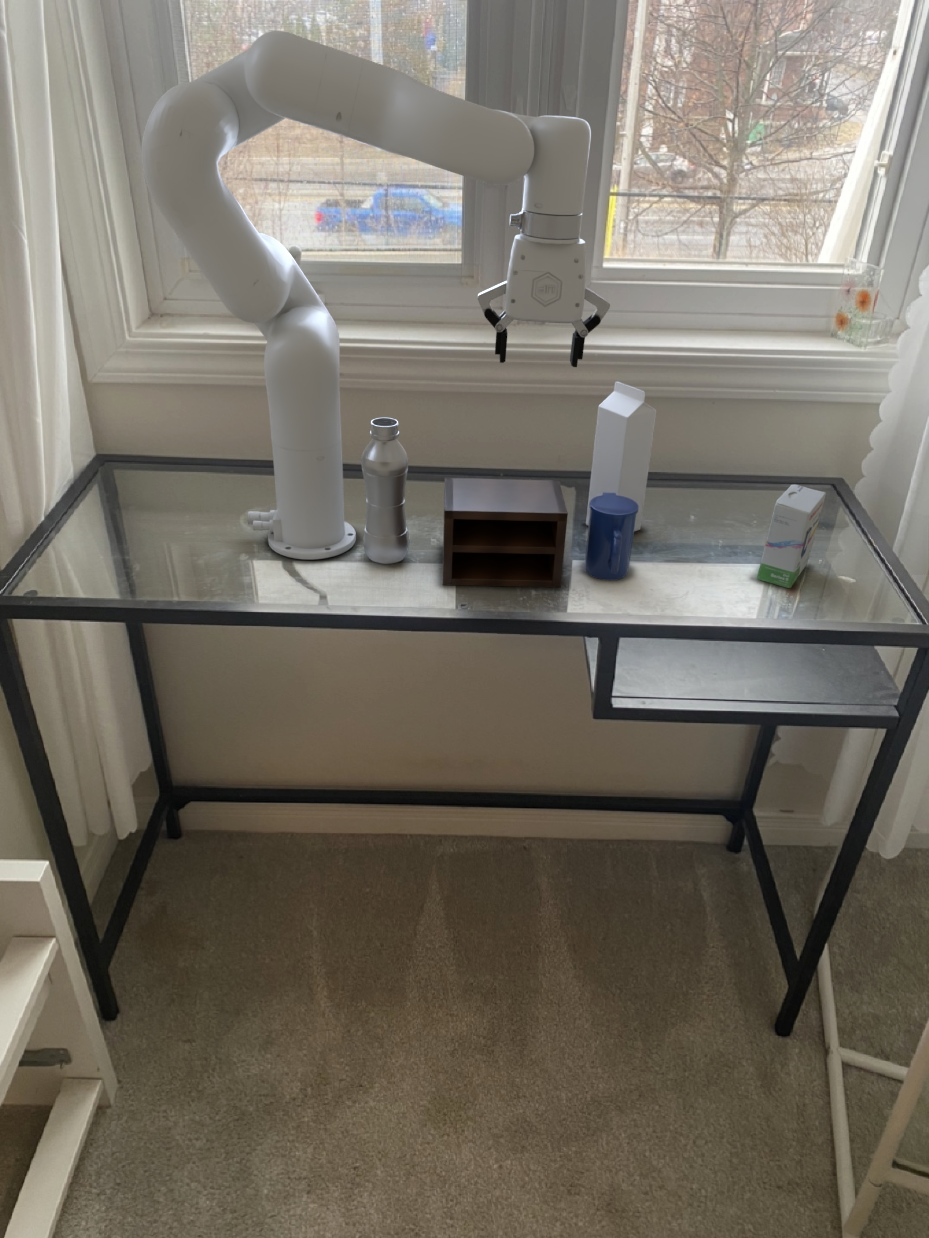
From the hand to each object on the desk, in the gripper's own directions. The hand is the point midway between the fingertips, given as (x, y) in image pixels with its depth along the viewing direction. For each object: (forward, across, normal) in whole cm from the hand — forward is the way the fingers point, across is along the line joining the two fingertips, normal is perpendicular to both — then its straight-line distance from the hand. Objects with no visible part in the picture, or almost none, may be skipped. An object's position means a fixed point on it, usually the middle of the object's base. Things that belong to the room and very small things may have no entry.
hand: (537, 362), depth 130 cm
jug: (+26, +12, -9) cm, 30 cm away
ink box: (+26, +37, -9) cm, 46 cm away
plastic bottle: (+27, -19, -8) cm, 34 cm away
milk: (+26, +14, +5) cm, 30 cm away
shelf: (+26, -3, -10) cm, 28 cm away
